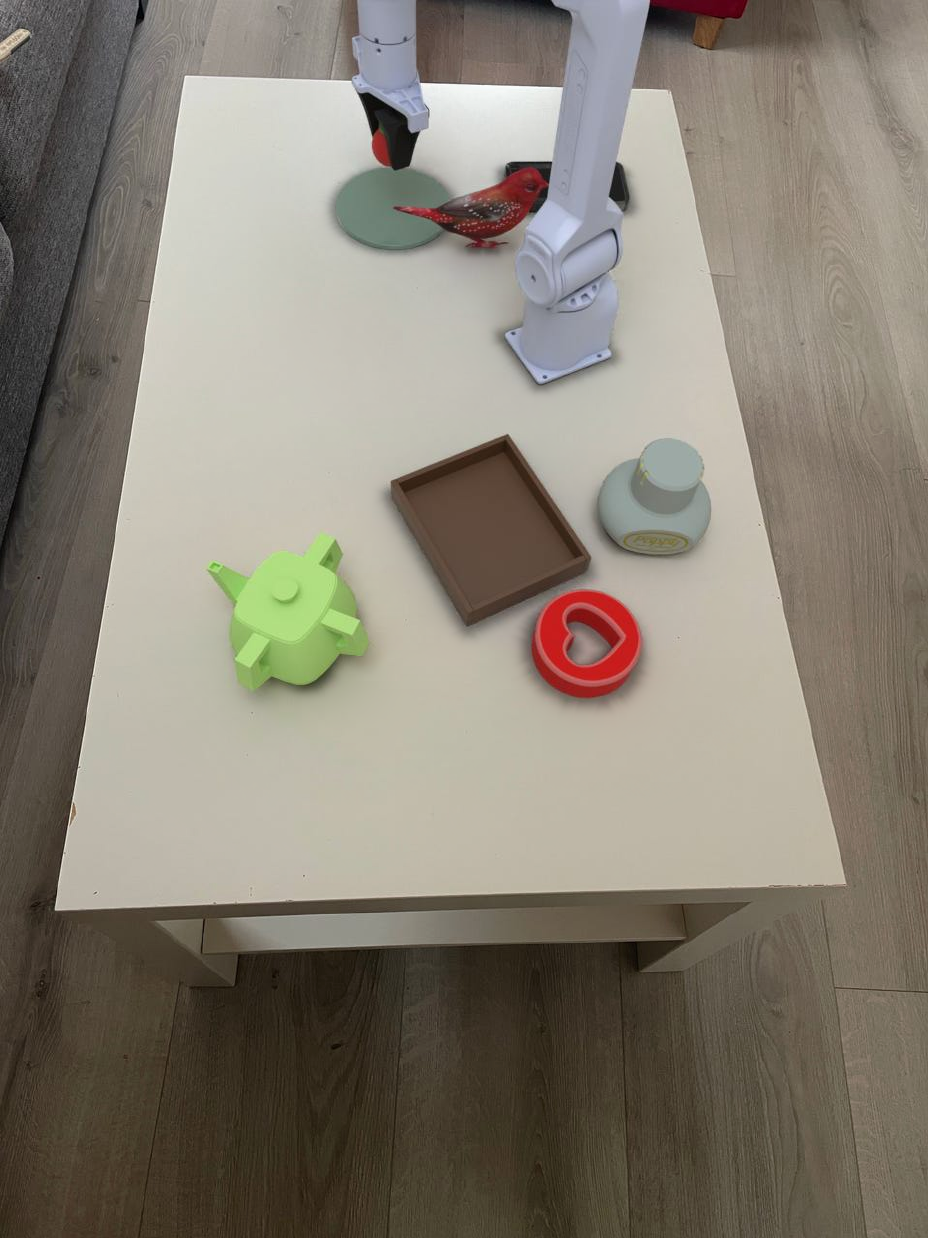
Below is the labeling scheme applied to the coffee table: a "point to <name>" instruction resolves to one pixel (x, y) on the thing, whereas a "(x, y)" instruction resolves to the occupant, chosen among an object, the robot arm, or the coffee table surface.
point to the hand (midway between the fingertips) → (392, 154)
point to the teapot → (291, 615)
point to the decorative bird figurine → (487, 208)
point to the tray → (489, 528)
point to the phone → (616, 193)
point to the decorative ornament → (557, 639)
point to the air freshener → (657, 499)
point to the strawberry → (380, 147)
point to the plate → (389, 208)
